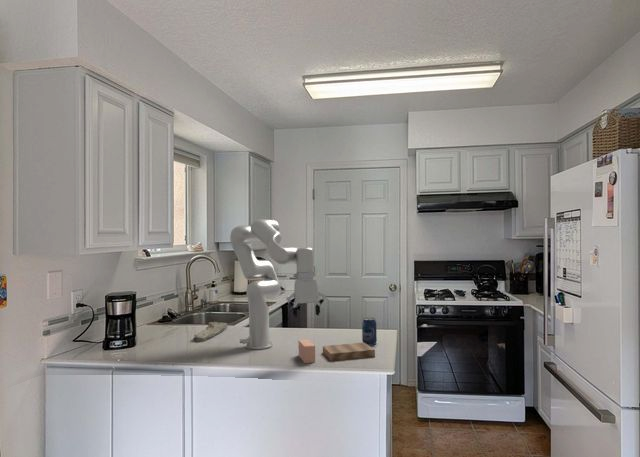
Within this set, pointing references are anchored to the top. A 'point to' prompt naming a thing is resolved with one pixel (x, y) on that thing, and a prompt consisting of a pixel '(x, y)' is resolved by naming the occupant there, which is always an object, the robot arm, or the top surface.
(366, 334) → the soda can
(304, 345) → the terracotta block
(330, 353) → the walnut stand
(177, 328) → the top surface
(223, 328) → the elongated rock
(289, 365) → the top surface
